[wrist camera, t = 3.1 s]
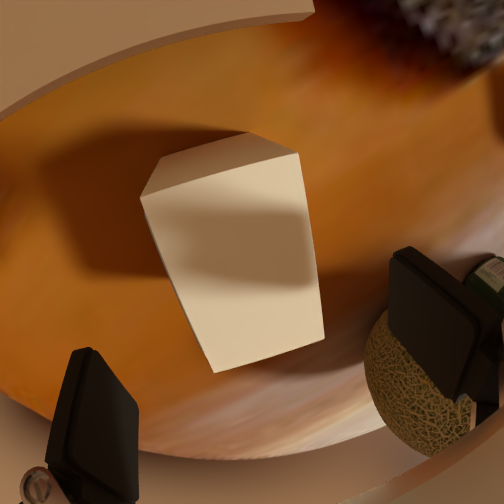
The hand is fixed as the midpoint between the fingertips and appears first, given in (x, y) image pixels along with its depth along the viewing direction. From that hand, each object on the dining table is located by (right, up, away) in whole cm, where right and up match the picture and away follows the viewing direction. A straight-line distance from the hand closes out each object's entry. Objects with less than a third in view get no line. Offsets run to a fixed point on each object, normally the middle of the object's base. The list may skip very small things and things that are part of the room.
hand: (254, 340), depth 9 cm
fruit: (+13, -3, +17) cm, 21 cm away
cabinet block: (-2, +5, +9) cm, 11 cm away
